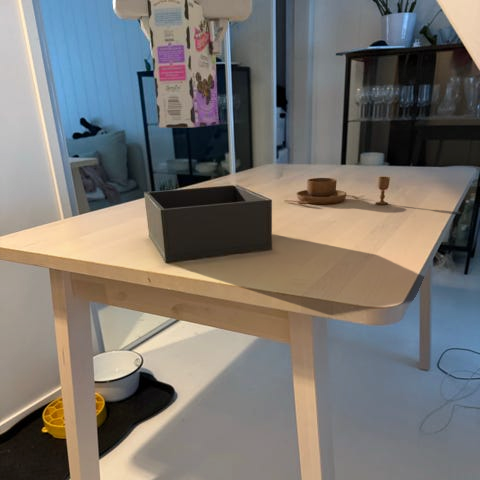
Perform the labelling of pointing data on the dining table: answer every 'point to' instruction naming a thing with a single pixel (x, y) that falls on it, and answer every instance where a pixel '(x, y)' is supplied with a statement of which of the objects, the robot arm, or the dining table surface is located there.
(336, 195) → the place setting
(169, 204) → the dark storage bin
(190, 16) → the candy box
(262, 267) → the dining table surface
